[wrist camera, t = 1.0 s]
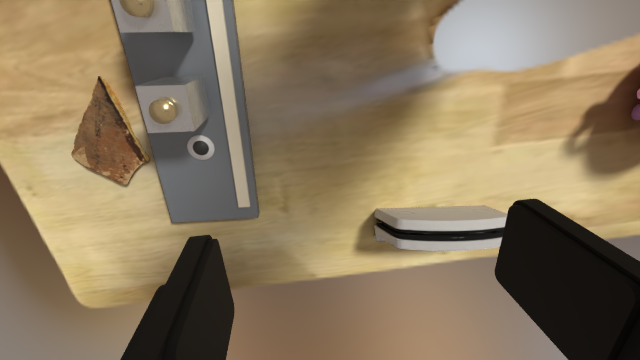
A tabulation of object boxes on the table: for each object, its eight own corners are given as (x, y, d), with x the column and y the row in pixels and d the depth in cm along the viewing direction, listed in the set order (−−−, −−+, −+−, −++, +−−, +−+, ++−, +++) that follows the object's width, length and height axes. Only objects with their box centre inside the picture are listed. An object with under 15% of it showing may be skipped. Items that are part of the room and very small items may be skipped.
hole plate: (108, -39, 28) (95, -44, 26) (228, -39, 29) (224, -44, 27) (176, 216, 40) (170, 224, 39) (259, 211, 41) (257, 219, 39)
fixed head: (143, -17, 27) (95, -33, 21) (189, -17, 28) (155, -33, 21) (155, 32, 29) (113, 32, 22) (197, 32, 29) (169, 31, 23)
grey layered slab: (371, 237, 45) (393, 263, 35) (371, 206, 44) (394, 223, 34) (478, 234, 46) (529, 257, 36) (480, 203, 46) (531, 218, 36)
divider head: (165, 76, 31) (129, 88, 24) (205, 75, 31) (180, 86, 24) (173, 115, 33) (142, 136, 26) (211, 113, 33) (190, 134, 26)
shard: (106, 73, 33) (96, 76, 31) (174, 112, 35) (169, 116, 33) (75, 152, 36) (65, 158, 34) (139, 183, 38) (132, 190, 37)
